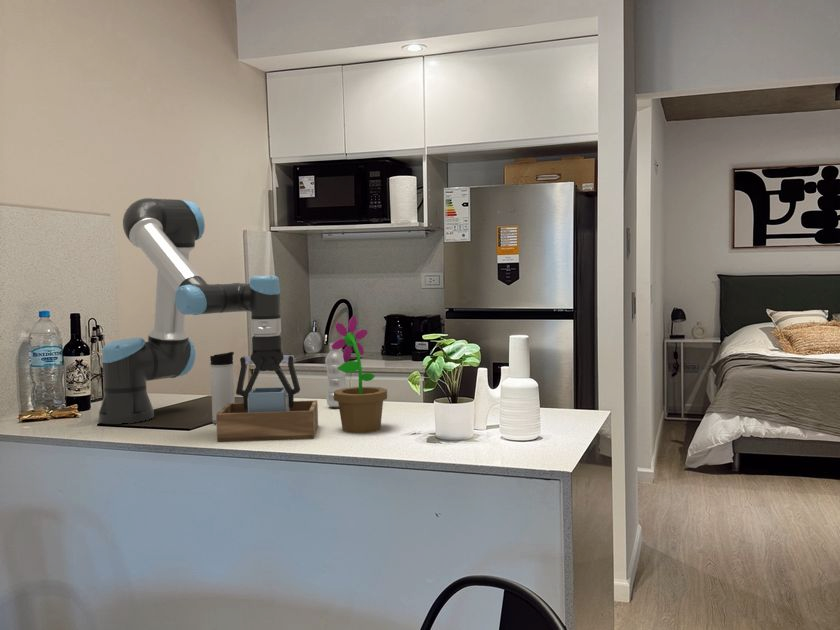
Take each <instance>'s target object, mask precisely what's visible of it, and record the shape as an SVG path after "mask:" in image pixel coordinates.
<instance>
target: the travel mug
mask: <svg viewBox="0 0 840 630" xmlns="http://www.w3.org/2000/svg"><path fill="white" fill-rule="evenodd" d="M234 354H235V352H234V351H230V352H225V353H219V354H214V355H211V356H209V357H210V365H209V366H210V388H211V391H210V392H211V414H212V415H211V416H212V424H214V425H217V419H216V414H217V413H218V412H219V411H220V410H222V409H223V408H224V407H225V406H226V405H227V404H228V403H236V402H235V401H236V399H235V398H236V397H235V379H234V378H235V375H234V371H235V370H234V358H233V357H234V356H233V355H234Z"/></svg>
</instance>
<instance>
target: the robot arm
mask: <svg viewBox="0 0 840 630" xmlns="http://www.w3.org/2000/svg"><path fill="white" fill-rule="evenodd" d="M205 225H206V224H205V218H204V214H203V212H202V211H201V208H200V207H199V206H198V204H197V203H195V202H194V201H190V200H184V199H174V198H173V199H172V198H171V199H170V198H169V199H167V198H152V197H151V198H149V197H145V198H141V199H138V200H136V201H134V202H132V203H131V204H130V205H129V206H128V208H126V210H125V212H124V214H123V218H122V228H123V232H124V234H125V236H126V238H127V239H128V240H129V242H130V243H131V244H132V245H133V246H134V247H136V248H139V249H140V250H142V252H143V253H144V255H146V257H147V258H148V259H149V260H150V261H151V262H152V264H153V265H154V267H155V268H156V269H157V270H156V271H157V275H156V289H155V291H156V292H155V306H154V307H155V309H154V323H153V329H151V331H149V332H148V334H147V336H148V337H147V341H145V339H144V338H143V337H130V338H123V339H118V340H113V341H110V342H107V343H106V344H105V345H104V346H103V347H102V350H101V351H102V352H101V355H102V356H101V363H102V377H103V398H102V401H101V405H100V407H99V411H98V422H99V423H100V424H103V425H104V424H105V425H123V424H122V423H128V424H136V423H140V421H142V422H145V420H146V421H149V419H150V420H151V418H152V419H154V418H155V410H154V406H153V405H152V402H151V399H150V397H149V395H148V391H147V381H155V380H161V379H162V380H164V379H175V378H178V377H183V376H186V375H187V374H188V373H189V372H190V371H192V369H193V367H194V364H195V362H196V349H195V345H194V342H193V341H192V340H191V339H189V334H188V333H187V332H186V331H185V320H186V319H185V318H186V316H185V315H188V316H189V315H192V316H199V315H200V316H201V315H209V314H222V313H238V312H250V314H251V315H250V316H251V317H250V319H251V320H250V321H251V334H252V335H253V336H252V337H251V346H252V347H251V349H252V352H251V355H250V356H246V355H245V356H244V355H243V356H241V357H240V358H239V359H240V360H239V361H240V371H239V374H238V375H239V376H238V379H237V380H238V381H237V385H236V391H235V394H236V395H237V396H241V397H242V398H243V403H244V409H248V413H249V404H248V393H249V392H250V391H251V390H252V389H253V388H254V386H255V385H254V384H255V383H256V381H257V378H258V376H259V374H260V372H265V371H270V372H272V371H274V373H276V375H277V377H278V379H279V381H280V383H281V384H282V387H284V388H285V390H286V392H287V393H288V395H286V396H285V401H286V411H290V408H293V405H294V401H295V400H294V399H295V398H294V395H296V394H299V393H300V391H301V387H300V383H299V379H298V375H297V371H296V368H295V365H294V363H295V361H294V360H295V356H294V355H292V354H291V355H285V354H284V353H283V351H282V349H283V348H282V336H281V335H280V334H281V333H282V320H281V319H282V317H281V288H280V279H279V277H278V276H277V275H253V276H251V277H250V278H249V283H248V282H247V283H245V282H243V283H241V282H232V283H221V284H219V283H217V284H216V283H215V284H213V283H212V284H210V283H209V284H208V283H207V281H205V279H204V278H203V277H202V276H201V275H200V274H199V272H198V271H197V270H196V269H195V268H194V266H193V265H192V264H191V263H190V262H189V257H190V252H191V251H192V250H194V249H195V245H196V241H199V240H200V239H201V238H202V237H203V235H204V232H205V227H206V226H205ZM283 360H284V361H285V364H287V368H288V371H289V375H290V378H291V381H292V385H293V388H292V386H291V384H290V383H289V381H288V379H287V377H286V375H285V374H284V371H283V370H282V367H281V366H280V365H281V363H282V361H283ZM250 362H252V363H253V364H254V365H255V368H254V369H253V373H252V375H251V376H250V379H249V381H248V383H247V386H246V388H245V390H244V389H243V388H244V385H245V379H246V374H247V370H248V366H249V364H250ZM153 417H154V418H153ZM135 422H136V423H135Z"/></svg>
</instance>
